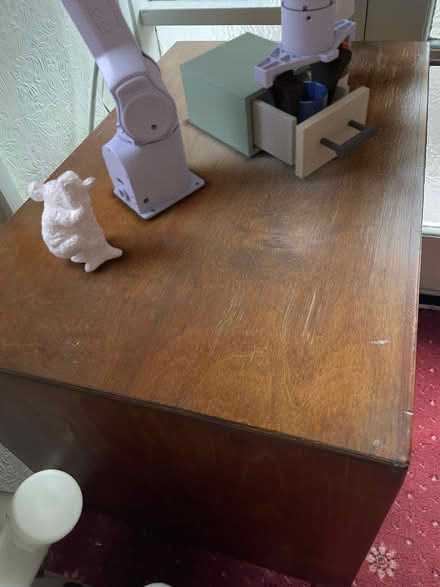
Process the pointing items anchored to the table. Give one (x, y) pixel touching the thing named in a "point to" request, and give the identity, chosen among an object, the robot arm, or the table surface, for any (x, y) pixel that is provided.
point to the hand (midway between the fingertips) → (304, 118)
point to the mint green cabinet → (227, 89)
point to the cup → (312, 100)
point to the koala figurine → (72, 221)
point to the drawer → (312, 128)
